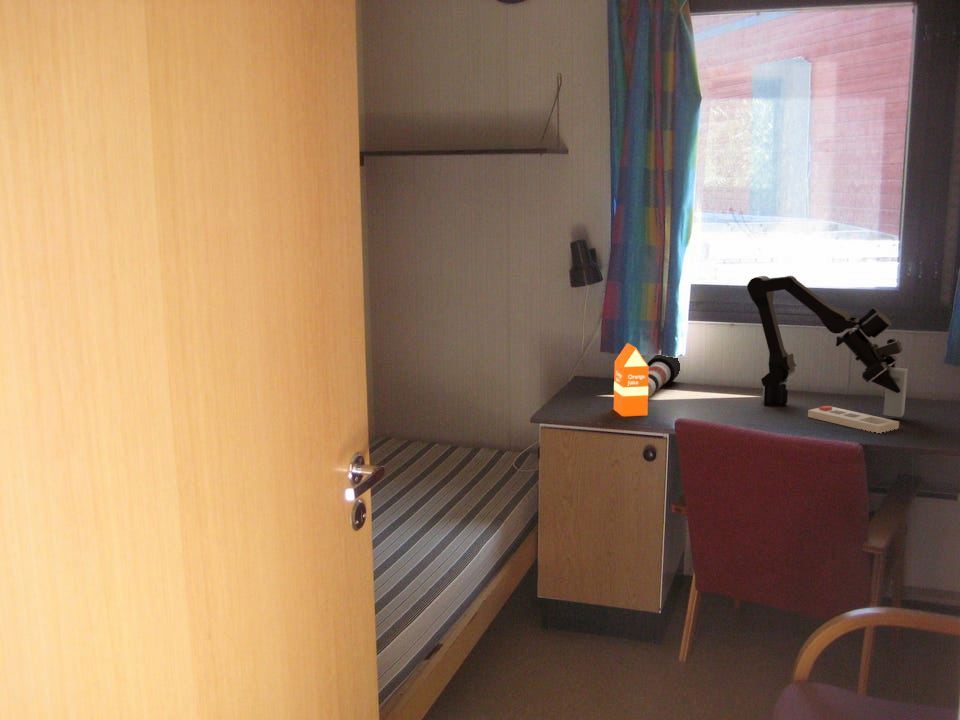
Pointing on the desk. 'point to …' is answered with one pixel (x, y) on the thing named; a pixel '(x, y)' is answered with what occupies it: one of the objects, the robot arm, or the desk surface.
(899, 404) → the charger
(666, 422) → the desk surface
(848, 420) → the power strip
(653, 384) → the telephoto camera lens
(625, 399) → the orange juice
